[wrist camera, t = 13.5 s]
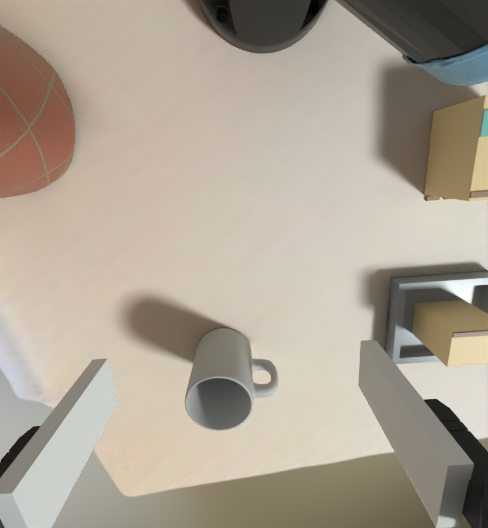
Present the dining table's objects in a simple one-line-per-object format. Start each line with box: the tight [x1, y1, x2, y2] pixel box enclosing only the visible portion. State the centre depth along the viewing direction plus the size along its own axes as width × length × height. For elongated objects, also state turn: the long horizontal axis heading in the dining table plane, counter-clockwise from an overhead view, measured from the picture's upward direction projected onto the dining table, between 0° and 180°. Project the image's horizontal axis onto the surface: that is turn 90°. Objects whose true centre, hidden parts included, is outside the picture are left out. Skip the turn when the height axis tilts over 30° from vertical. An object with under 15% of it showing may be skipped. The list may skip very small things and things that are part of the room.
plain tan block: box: [412, 300, 488, 367], centre depth 40 cm, size 5×7×8 cm
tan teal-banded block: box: [424, 95, 488, 201], centre depth 33 cm, size 11×7×8 cm, turn 4°
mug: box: [185, 328, 278, 431], centre depth 41 cm, size 12×8×11 cm
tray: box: [385, 271, 488, 364], centre depth 43 cm, size 13×14×2 cm
